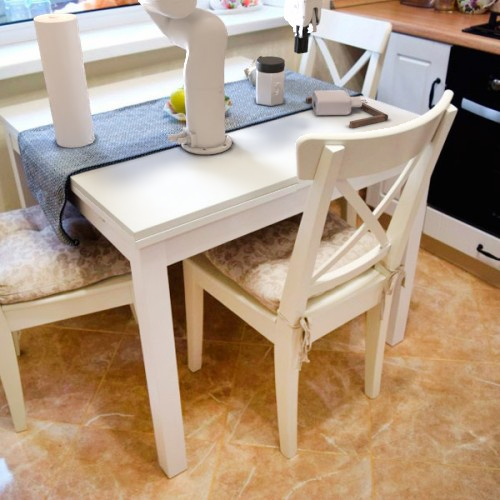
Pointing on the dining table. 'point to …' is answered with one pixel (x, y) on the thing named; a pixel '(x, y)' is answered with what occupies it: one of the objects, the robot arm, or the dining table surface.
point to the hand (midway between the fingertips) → (300, 52)
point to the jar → (270, 80)
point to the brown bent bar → (377, 117)
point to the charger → (334, 102)
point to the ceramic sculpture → (252, 73)
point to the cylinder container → (65, 78)
